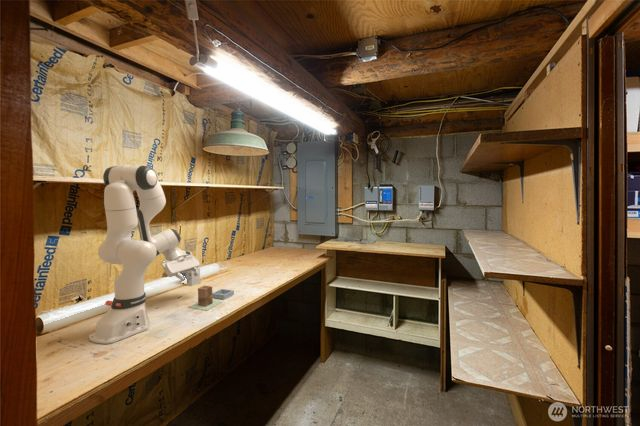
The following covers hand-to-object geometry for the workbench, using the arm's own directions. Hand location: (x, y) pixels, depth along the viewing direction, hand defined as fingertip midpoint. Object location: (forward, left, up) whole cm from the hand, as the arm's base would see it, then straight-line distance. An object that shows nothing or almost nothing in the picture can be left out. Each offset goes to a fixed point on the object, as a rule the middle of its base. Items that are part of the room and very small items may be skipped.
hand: (190, 277), depth 162 cm
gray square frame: (+14, -9, -14) cm, 22 cm away
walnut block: (0, -9, -13) cm, 16 cm away
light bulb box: (+26, +26, -14) cm, 39 cm away
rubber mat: (0, -9, -14) cm, 17 cm away
